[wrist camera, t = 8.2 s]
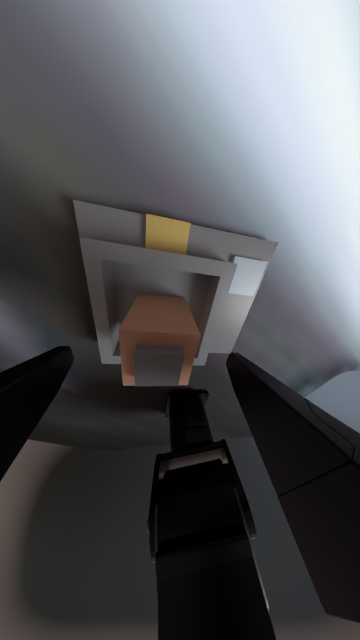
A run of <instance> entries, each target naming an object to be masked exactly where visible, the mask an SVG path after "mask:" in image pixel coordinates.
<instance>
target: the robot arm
mask: <svg viewBox="0 0 360 640" xmlns="http://www.w3.org/2000/svg"><path fill="white" fill-rule="evenodd" d="M73 361H74V357H73V354H72V351H71V348H70V347H69V346H58V347H56V348H54V349H52V350H49V351H47V352H45V353H43V354H40V355H38V356H36V357H34V358H32V359H29V360H27V361H25V362H23V363H20V364H18V365H16V366H14V367H12V368H9V369H7V370H5V371H3V372H1V373H0V481H1V480H2V478H3V477H4V475H5V474H6V472H7V470H8V469H9V467H10V466H11V464H12V463H13V461H14V460H15V458H16V456H17V455H18V453H19V452H20V450H21V448H22V447H23V445H24V444H25V442H26V441H27V439H28V438H29V436H30V435H31V433H32V432H33V430H34V428H35V427H36V425H37V424H38V422H39V421H40V419H41V418H42V416H43V414H44V413H45V411H46V410H47V408H48V407H49V405H50V404H51V402H52V400H53V399H54V397H55V396H56V394H57V392H58V391H59V389H60V387H61V385H62V383H63V381H64V379H65V377H66V375H67V373H68V371H69V370H70V368H71V366H72V364H73ZM226 366H227V369H228V372H229V376H230V379H231V382H232V386H233V389H234V391H235V394H236V396H237V399H238V401H239V404H240V406H241V408H242V411H243V413H244V416H245V418H246V421H247V423H248V425H249V428H250V430H251V433H252V435H253V438H254V440H255V443H256V445H257V447H258V450H259V452H260V455H261V457H262V460H263V462H264V465H265V467H266V469H267V472H268V474H269V477H270V479H271V481H272V484H273V486H274V488H275V491H276V494H277V496H278V499H279V501H280V504H281V506H282V509H283V511H284V513H285V516H286V519H287V521H288V523H289V526H290V528H291V531H292V533H293V535H294V538H295V540H296V543H297V545H298V548H299V550H300V553H301V555H302V558H303V560H304V562H305V565H306V567H307V570H308V572H309V575H310V577H311V580H312V582H313V584H314V587H315V589H316V592H317V594H318V597H319V599H320V601H321V604H322V606H323V608H324V610H325V612H326V614H327V615H331V616H335V617H338V618H342V619H346V620H349V621H353V622H357V623H360V433H359V432H357V431H355V430H354V429H352V428H351V427H349V426H347V425H346V424H344V423H343V422H341V421H339V420H338V419H336V418H334V417H333V416H331V415H330V414H328V413H327V412H325V411H324V410H322V409H321V408H319V407H318V406H316V405H314V404H313V403H312V402H310V401H309V400H307V399H306V398H303V396H301V395H300V394H298V393H297V392H295V391H294V390H292V389H291V388H289V387H288V386H286V385H285V384H283V383H282V382H281V381H279V380H278V379H276V378H275V377H273V376H272V375H270V374H269V373H267V372H266V371H264V370H263V369H261V368H260V367H258V366H257V365H255V364H254V363H252V362H251V361H249V360H248V359H246V358H245V357H243V356H242V355H240V354H239V353H237V352H231V353H230V354H229V356H228V359H227V361H226ZM208 396H209V393H208V392H207V391H188V392H169V394H168V399H167V405H166V410H165V417H169V421H170V448H171V452H170V453H165V454H157V456H156V460H155V466H154V474H153V484H152V492H151V500H150V507H149V512H148V517H147V530H148V532H149V537H150V552H151V559H152V561H153V563H155V564H156V575H157V590H158V591H157V592H158V640H276V637H275V634H274V630H273V626H272V623H271V619H270V616H269V606H268V601H267V598H266V594H265V591H264V586H263V583H262V579H261V576H260V572H259V568H258V564H257V561H256V557H255V553H254V550H253V546H252V542H251V540H252V539H256V538H257V533H256V528H255V525H254V521H253V517H252V514H251V511H250V507H249V504H248V501H247V498H246V495H245V492H244V489H243V487H242V484H241V481H240V478H239V476H238V473H237V471H236V468H235V465H234V462H233V460H232V457H231V454H230V451H229V449H228V446H227V443H226V441H225V439H222V440H221V441H218V442H213V438H212V435H211V431H210V427H209V423H208V419H207V415H206V412H205V408H204V406H205V404H206V401H207V399H208ZM221 460H223V462H224V464H222V461H221Z"/></svg>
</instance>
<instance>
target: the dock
mask: <svg viewBox="0 0 360 640" xmlns="http://www.w3.org/2000/svg"><path fill="white" fill-rule="evenodd" d="M73 204H74V209H75V215H76V220H77V226H78V231H79V240H80V245H81V251H82V256H83V262H84V267H85V273H86V278H87V284H88V289H89V295H90V300H91V306H92V312H93V317H94V323H95V328H96V334H97V339H98V345H99V350H100V356H101V361H102V364H121V355H120V344H119V332H118V330H119V328H120V326H121V324H122V323H123V321H124V319H125V317H126V316H127V314H128V312H129V310H130V309H131V307H132V305H133V303H134V301H135V300H136V298H137V296H138V294H139V293H146V294H156V295H165V296H174V297H184V298H185V300H186V303H187V305H188V307H189V309H190V312H191V314H192V316H193V318H194V321H195V323H196V325H197V327H198V330H199V332H200V334H201V336H200V340H199V344H198V348H197V351H196V355H195V359H194V363H193V365H205V362H206V359H207V356H208V353H231V351H232V349H233V346H234V344H235V342H236V339H237V337H238V335H239V332H240V330H241V328H242V325H243V323H244V321H245V318H246V316H247V314H248V312H249V309H250V307H251V305H252V302H253V300H254V298H255V295H256V293H257V291H258V288H259V286H260V284H261V281H262V279H263V277H264V274H265V272H266V270H267V268H268V265H269V263H270V261H271V258H272V256H273V254H274V251H275V249H276V247H277V244H278V243H277V242H273V241H268V240H263V239H258V238H254V237H249V236H244V235H239V234H235V233H230V232H225V231H220V230H216V229H211V228H206V227H201V226H197V225H192V224H191V223H188V222H184V221H179V220H174V219H169V218H165V217H160V216H155V215H151V214H146V215H144V214H140V213H135V212H130V211H125V210H121V209H116V208H111V207H106V206H102V205H97V204H92V203H87V202H83V201H78V200H73Z"/></svg>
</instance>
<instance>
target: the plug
mask: <svg viewBox="0 0 360 640" xmlns="http://www.w3.org/2000/svg"><path fill="white" fill-rule="evenodd" d="M118 332H119V344H120V355H121V367H122V378H123V386H178V385H188V381H189V378H190V374H191V370H192V366H193V363H194V359H195V355H196V351H197V348H198V344H199V340H200V336H201V334H200V332H199V330H198V327H197V325H196V323H195V321H194V318H193V316H192V314H191V312H190V309H189V307H188V305H187V303H186V300H185V298H184V297H174V296H165V295H156V294H146V293H139V294H138V296H137V298H136V300H135V301H134V303H133V305H132V307H131V309H130V310H129V312H128V314H127V316H126V317H125V319H124V321H123V323H122V324H121V326H120V328H119V330H118Z"/></svg>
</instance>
